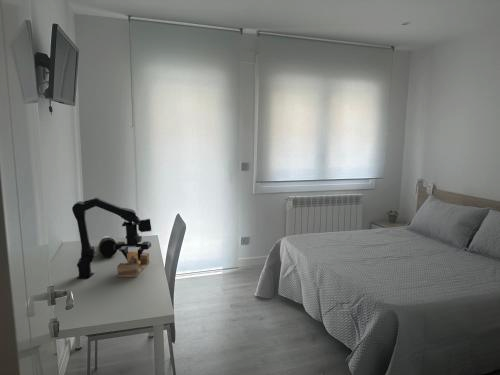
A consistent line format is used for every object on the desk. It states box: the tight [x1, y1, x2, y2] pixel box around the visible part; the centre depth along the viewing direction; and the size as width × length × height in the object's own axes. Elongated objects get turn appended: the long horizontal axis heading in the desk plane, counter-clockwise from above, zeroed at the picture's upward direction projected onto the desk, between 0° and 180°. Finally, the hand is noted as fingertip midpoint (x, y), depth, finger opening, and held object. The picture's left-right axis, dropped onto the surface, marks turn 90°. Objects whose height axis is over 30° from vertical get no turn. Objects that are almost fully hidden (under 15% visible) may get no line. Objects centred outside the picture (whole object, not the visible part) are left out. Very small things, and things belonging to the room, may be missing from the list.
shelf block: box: [116, 252, 150, 278], centre depth 192 cm, size 20×10×7 cm, turn 177°
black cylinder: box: [98, 235, 118, 258], centre depth 227 cm, size 10×34×10 cm, turn 23°
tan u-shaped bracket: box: [126, 251, 140, 264], centre depth 192 cm, size 6×3×6 cm, turn 87°
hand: (133, 260), depth 192 cm, fingers closed on tan u-shaped bracket, 6 cm apart
